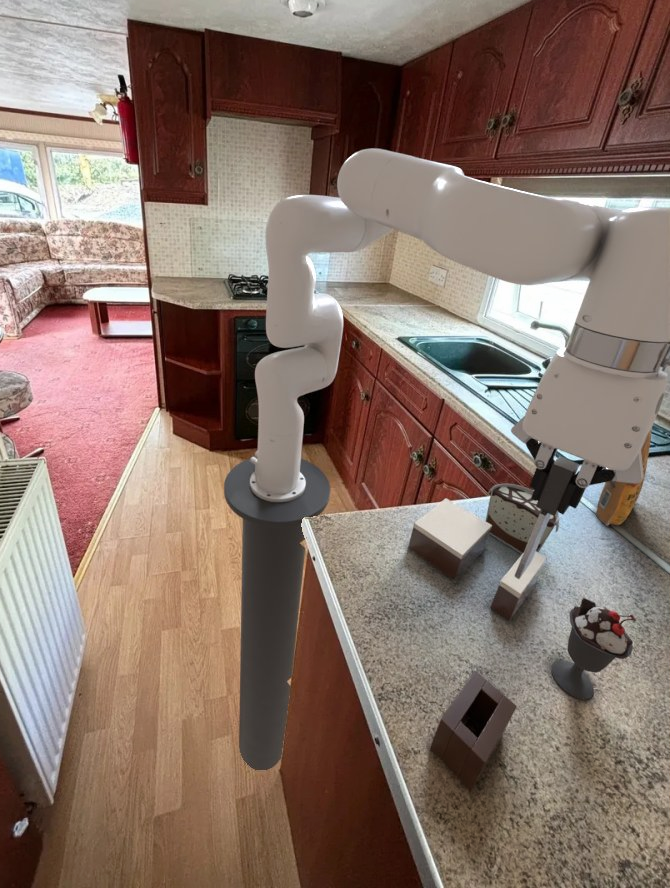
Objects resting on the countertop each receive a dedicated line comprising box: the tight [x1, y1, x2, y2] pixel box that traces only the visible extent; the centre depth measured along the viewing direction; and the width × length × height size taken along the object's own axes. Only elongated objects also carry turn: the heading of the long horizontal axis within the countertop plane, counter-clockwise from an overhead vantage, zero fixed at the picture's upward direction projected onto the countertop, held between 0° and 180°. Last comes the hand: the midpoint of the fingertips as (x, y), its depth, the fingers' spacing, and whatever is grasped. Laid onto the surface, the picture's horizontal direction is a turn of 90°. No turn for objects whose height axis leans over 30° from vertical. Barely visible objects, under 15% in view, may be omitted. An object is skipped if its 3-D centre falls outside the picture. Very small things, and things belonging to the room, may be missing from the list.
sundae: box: [550, 597, 637, 700], centre depth 52 cm, size 7×7×15 cm
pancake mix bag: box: [595, 427, 653, 527], centre depth 83 cm, size 7×19×28 cm, turn 132°
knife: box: [515, 455, 580, 579], centre depth 47 cm, size 2×4×16 cm, turn 132°
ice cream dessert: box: [485, 483, 560, 555], centre depth 76 cm, size 12×6×10 cm, turn 40°
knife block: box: [429, 670, 518, 793], centre depth 46 cm, size 5×8×6 cm, turn 132°
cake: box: [407, 498, 492, 582], centre depth 73 cm, size 9×11×6 cm
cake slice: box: [490, 551, 548, 622], centre depth 65 cm, size 3×11×6 cm, turn 132°
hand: (551, 500), depth 46 cm, fingers closed on knife, 2 cm apart
